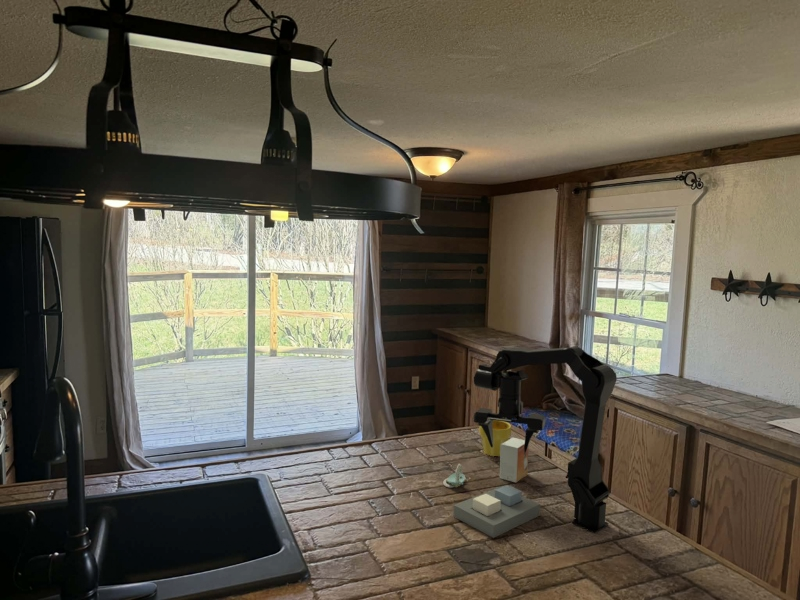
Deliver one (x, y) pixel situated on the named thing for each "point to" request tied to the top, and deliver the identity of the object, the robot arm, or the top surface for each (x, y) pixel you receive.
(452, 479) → the pacifier
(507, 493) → the slate key
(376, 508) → the top surface
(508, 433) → the plant pot
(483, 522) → the keypad
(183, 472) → the top surface
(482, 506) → the cream key
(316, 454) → the top surface
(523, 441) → the small box
